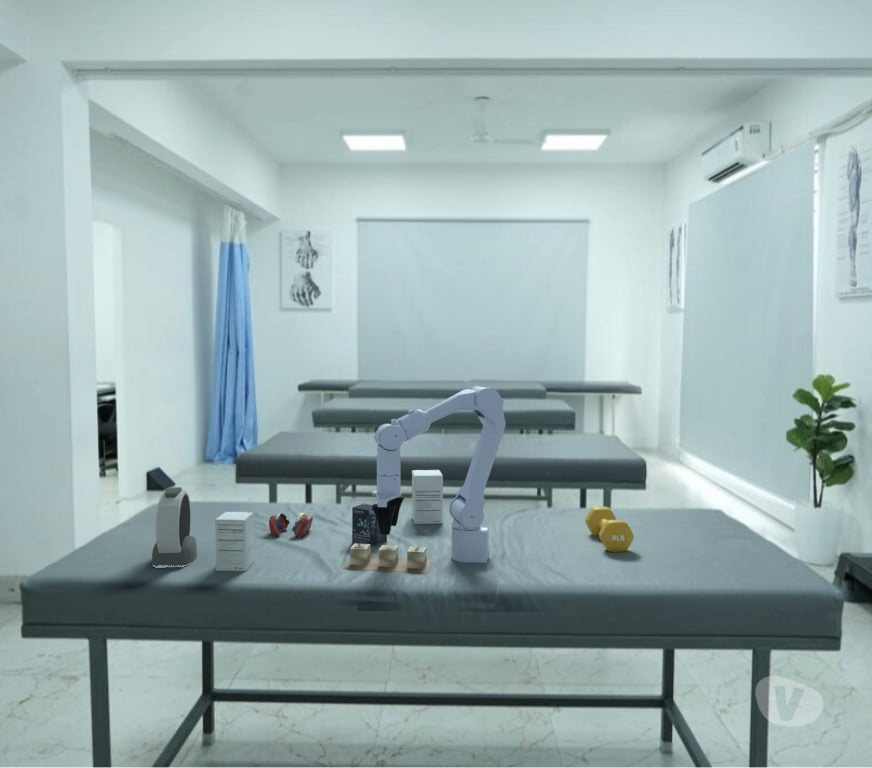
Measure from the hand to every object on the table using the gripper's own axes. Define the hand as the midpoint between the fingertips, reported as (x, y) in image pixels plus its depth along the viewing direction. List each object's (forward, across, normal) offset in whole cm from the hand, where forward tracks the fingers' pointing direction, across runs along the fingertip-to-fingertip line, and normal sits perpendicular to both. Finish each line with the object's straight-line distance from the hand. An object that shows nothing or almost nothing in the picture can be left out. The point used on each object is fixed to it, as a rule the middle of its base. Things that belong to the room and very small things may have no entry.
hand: (388, 529), depth 164 cm
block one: (+8, 0, +7) cm, 11 cm away
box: (+10, -17, -9) cm, 22 cm away
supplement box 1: (+10, +5, -37) cm, 39 cm away
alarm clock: (+10, +3, -54) cm, 55 cm away
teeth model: (+10, -25, -34) cm, 43 cm away
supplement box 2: (+10, -45, +2) cm, 46 cm away
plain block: (+8, 0, 0) cm, 8 cm away
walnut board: (+9, 0, 0) cm, 9 cm away
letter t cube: (+8, 0, -7) cm, 11 cm away
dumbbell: (+10, -31, +55) cm, 64 cm away
